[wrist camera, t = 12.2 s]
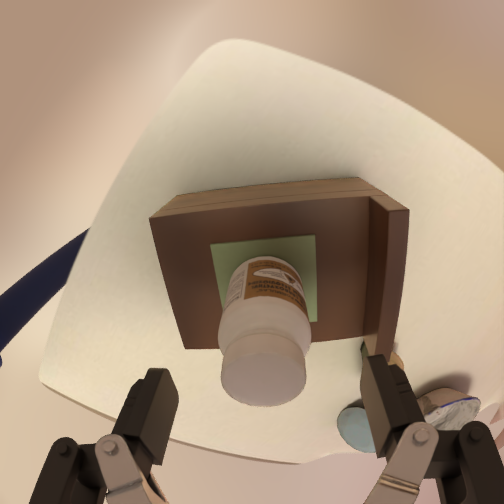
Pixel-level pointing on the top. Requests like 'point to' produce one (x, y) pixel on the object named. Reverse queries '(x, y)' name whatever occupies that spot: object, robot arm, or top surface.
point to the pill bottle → (264, 333)
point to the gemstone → (356, 429)
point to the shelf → (288, 254)
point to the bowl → (448, 408)
